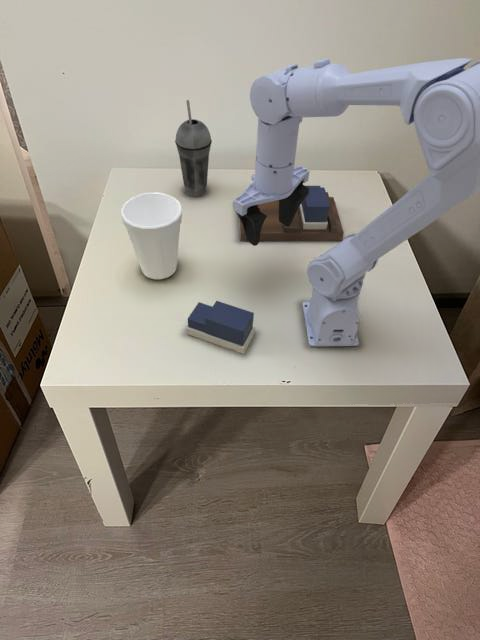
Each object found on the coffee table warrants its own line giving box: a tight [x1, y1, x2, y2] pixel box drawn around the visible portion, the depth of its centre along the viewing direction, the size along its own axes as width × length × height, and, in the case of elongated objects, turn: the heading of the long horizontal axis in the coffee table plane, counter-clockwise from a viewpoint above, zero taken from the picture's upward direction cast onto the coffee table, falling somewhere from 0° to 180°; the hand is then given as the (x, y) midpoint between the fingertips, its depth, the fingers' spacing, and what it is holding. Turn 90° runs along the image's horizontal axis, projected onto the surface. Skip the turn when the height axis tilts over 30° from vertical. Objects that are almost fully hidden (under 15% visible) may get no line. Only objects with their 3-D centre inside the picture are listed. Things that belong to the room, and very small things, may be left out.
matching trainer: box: [299, 185, 330, 229], centre depth 96 cm, size 10×5×5 cm, turn 2°
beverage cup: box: [174, 99, 213, 198], centre depth 98 cm, size 7×7×20 cm
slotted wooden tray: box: [238, 191, 344, 242], centre depth 97 cm, size 12×20×3 cm, turn 92°
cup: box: [120, 191, 183, 280], centre depth 83 cm, size 10×10×13 cm
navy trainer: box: [185, 300, 256, 355], centre depth 77 cm, size 10×5×5 cm, turn 67°
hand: (268, 232), depth 81 cm, fingers open, 7 cm apart
